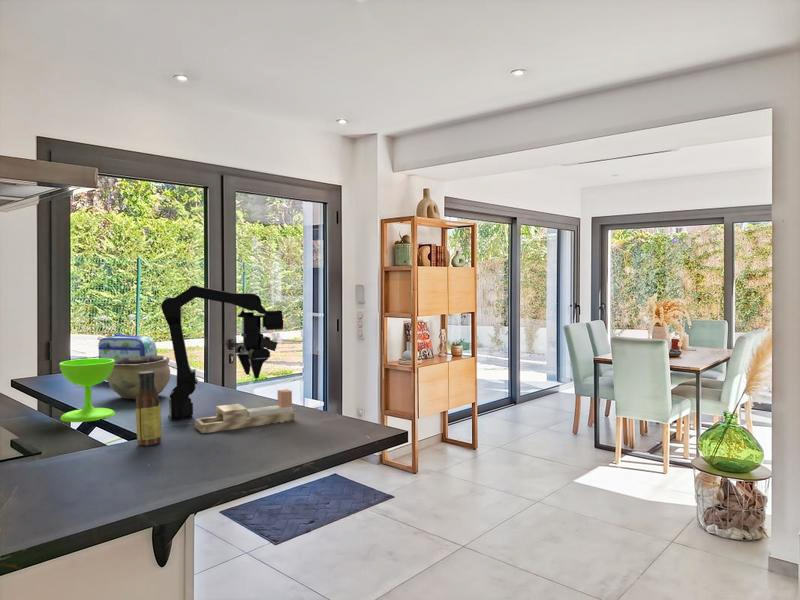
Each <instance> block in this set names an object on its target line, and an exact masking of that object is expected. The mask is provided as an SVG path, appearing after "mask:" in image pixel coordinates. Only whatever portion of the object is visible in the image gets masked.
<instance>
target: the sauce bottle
mask: <svg viewBox="0 0 800 600" xmlns="http://www.w3.org/2000/svg"><path fill="white" fill-rule="evenodd" d="M154 376H155V373H154V371H144V372H139V379H140V386H139V387H140V390H139V392H138V394H137V396H136V399H135V419H136V440H137V445H139V446H142V447H148V446H149V447H150V446H155V445H158V444H160V443H161V442H162V433H163V432H162V416H161V415H162V413H161V412H162V411H161V399H160V396H159V394H157V391H156V388H155V385H154Z"/></svg>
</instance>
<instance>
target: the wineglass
mask: <svg viewBox="0 0 800 600" xmlns="http://www.w3.org/2000/svg"><path fill="white" fill-rule="evenodd" d="M114 363H115V360H114V359H103V358H99V357H98V358H80V359H70V360H65V361H61V362H59V363H58V365H59V369H60V373H61V374H62V376H63V377H64V378H65V379H66V380H67V381H68V382H70V383H71V384H73V385H76V386H78V387H79V386H80V387H84V406H83V407H82V408H80V409H75V410H71V411H68V412H65V413H63V414H62V415H61V416H60V421H62V422H64V423H65V422H67V423H87V422H94V421H100V419H102V418H106V417H110V416H112V417H114V416H115V415H116V411H114V410H113V409H112V408H109V407H108V408H107V407H94V406H93V405H92V387H93V386H96V385H99V384H101V383H103V381H104V380H105V379H107V377H108V376H109V375H110V374H111V372H112V370H113V368H114ZM114 414H115V415H114ZM113 415H114V416H113ZM110 418H111V417H110ZM106 419H107V418H106ZM102 420H103V419H102Z"/></svg>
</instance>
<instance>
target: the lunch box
mask: <svg viewBox="0 0 800 600" xmlns="http://www.w3.org/2000/svg"><path fill="white" fill-rule="evenodd" d="M97 347H98V358H103V359H117V358H123V357H139V356H150V355H158V354H157V353H158V351H157V346H156V342H155V340H154V339H152V337H149V336H143V335H128V334H121V333H116V334H114V335H113V336H108V337H102V338H101V339H99V342H98V346H97ZM105 380H107V381H108V377H107V379H105Z"/></svg>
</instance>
